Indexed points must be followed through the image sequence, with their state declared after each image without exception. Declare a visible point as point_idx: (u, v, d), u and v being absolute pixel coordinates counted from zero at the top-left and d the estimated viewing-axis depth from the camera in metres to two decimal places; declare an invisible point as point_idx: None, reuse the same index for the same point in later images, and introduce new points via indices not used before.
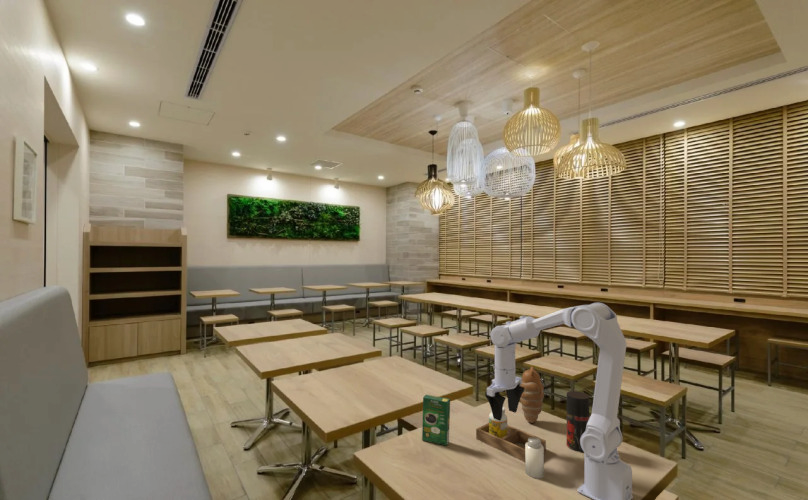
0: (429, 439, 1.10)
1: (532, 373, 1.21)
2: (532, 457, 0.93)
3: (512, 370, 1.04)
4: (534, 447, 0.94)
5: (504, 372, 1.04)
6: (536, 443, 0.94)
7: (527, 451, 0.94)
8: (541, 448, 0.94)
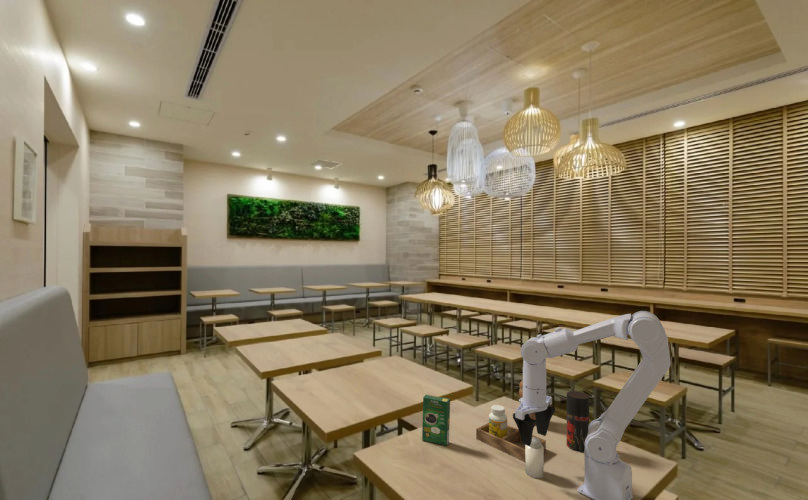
0: (429, 439, 1.10)
1: None
2: (532, 457, 0.93)
3: (543, 390, 0.93)
4: (534, 447, 0.94)
5: (534, 392, 0.93)
6: (536, 443, 0.94)
7: (527, 451, 0.94)
8: (541, 448, 0.94)
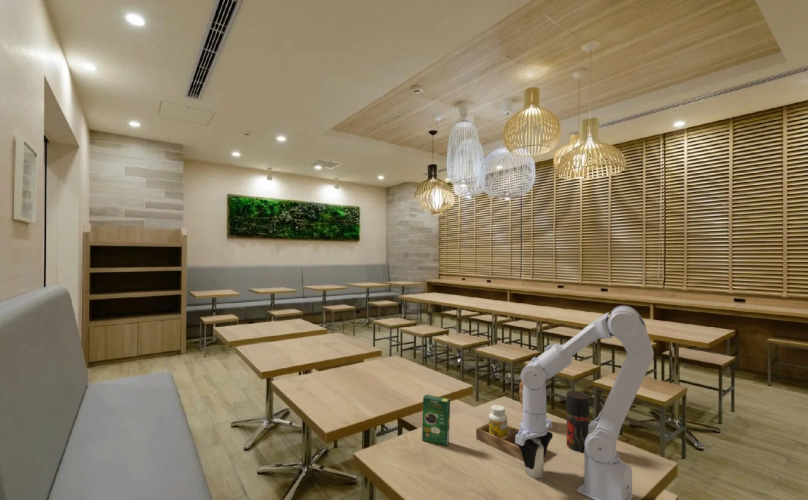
0: (429, 439, 1.10)
1: None
2: None
3: (543, 415, 0.93)
4: None
5: (534, 417, 0.93)
6: None
7: None
8: (541, 448, 0.94)
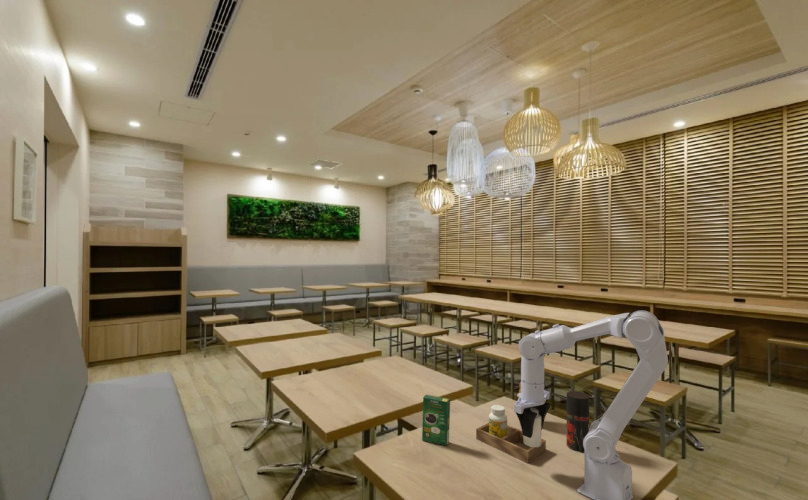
0: (429, 439, 1.10)
1: None
2: None
3: (541, 384, 0.94)
4: None
5: (532, 386, 0.94)
6: None
7: None
8: (539, 418, 0.95)
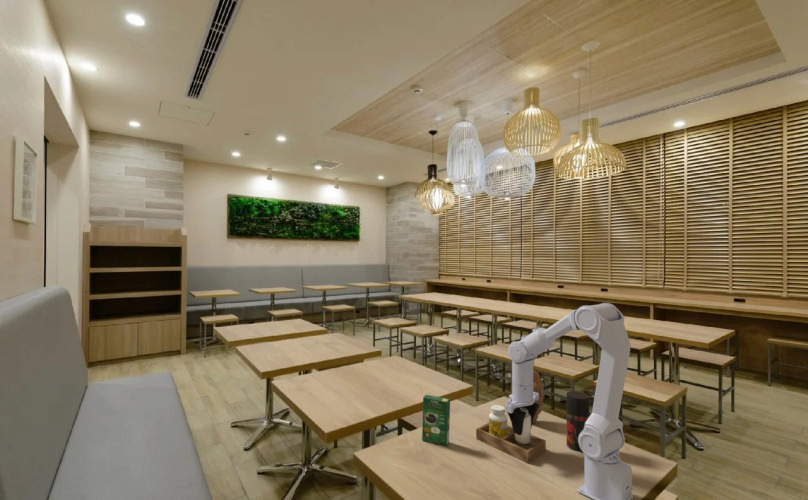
0: (429, 439, 1.10)
1: None
2: None
3: (530, 386, 1.04)
4: None
5: (522, 388, 1.03)
6: None
7: None
8: (528, 417, 1.05)
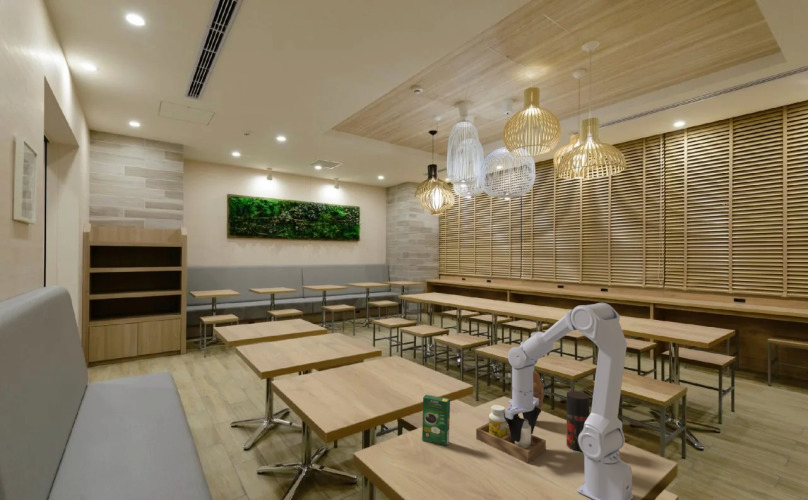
0: (429, 439, 1.10)
1: None
2: None
3: (530, 392, 1.04)
4: (522, 427, 1.05)
5: (522, 394, 1.03)
6: (524, 423, 1.05)
7: None
8: (528, 428, 1.05)
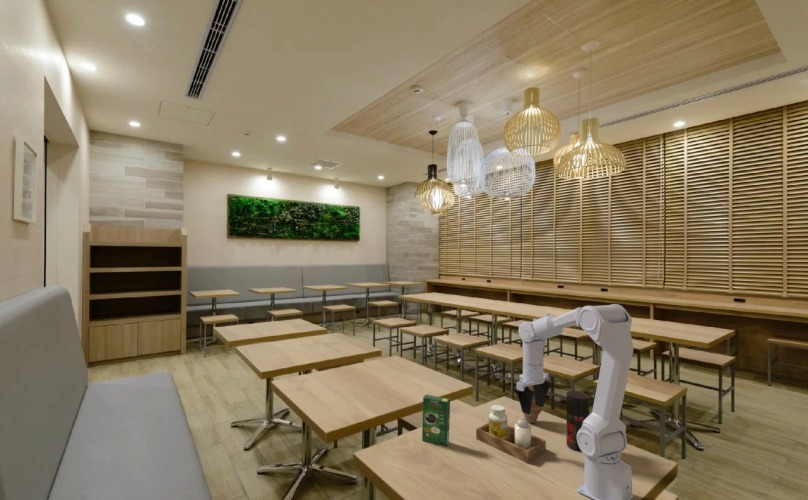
0: (429, 439, 1.10)
1: None
2: (520, 436, 1.04)
3: (541, 366, 1.07)
4: (522, 427, 1.05)
5: (533, 367, 1.06)
6: (524, 423, 1.05)
7: (516, 430, 1.05)
8: (528, 428, 1.05)
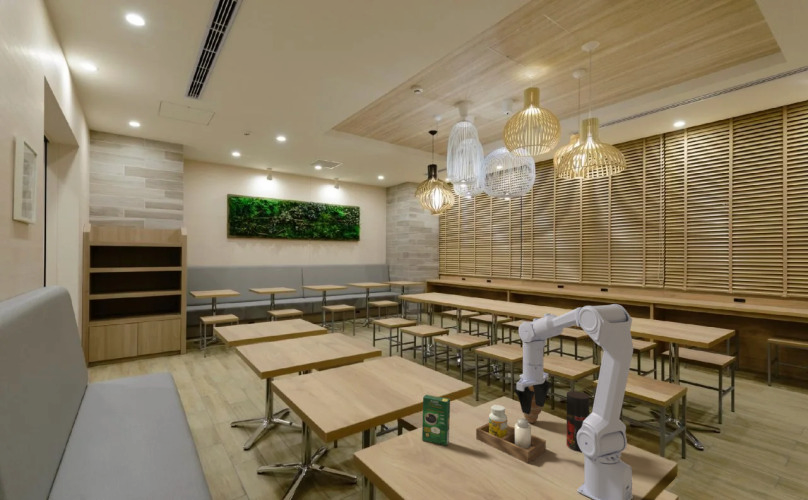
0: (429, 439, 1.10)
1: None
2: (520, 436, 1.04)
3: (541, 366, 1.07)
4: (522, 427, 1.05)
5: (533, 367, 1.06)
6: (524, 423, 1.05)
7: (516, 430, 1.05)
8: (528, 428, 1.05)
